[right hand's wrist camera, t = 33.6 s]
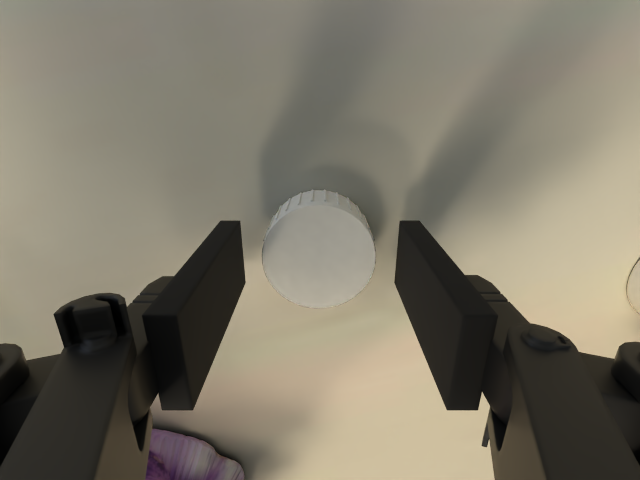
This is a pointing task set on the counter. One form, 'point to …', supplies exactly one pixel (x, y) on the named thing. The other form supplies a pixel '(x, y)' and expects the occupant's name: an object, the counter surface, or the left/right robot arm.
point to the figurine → (187, 459)
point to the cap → (318, 250)
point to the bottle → (634, 288)
